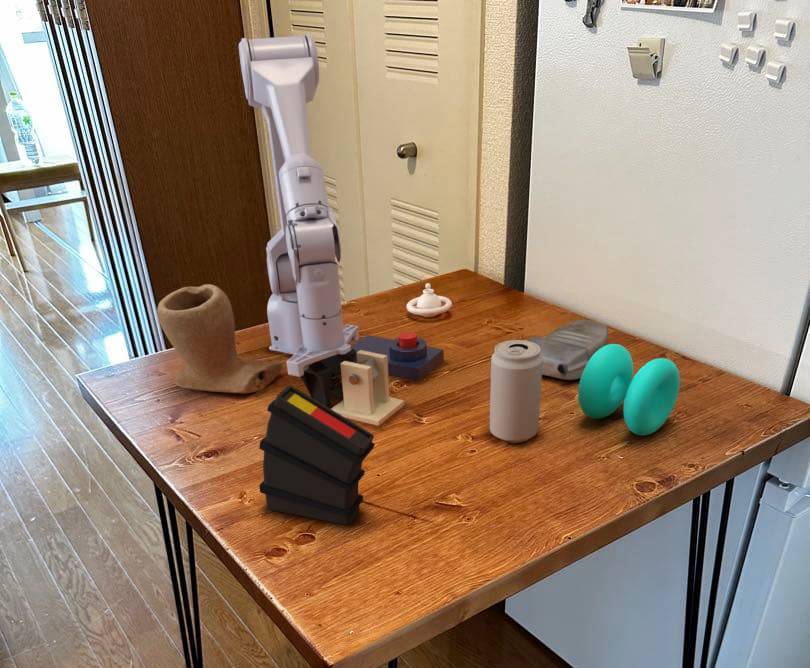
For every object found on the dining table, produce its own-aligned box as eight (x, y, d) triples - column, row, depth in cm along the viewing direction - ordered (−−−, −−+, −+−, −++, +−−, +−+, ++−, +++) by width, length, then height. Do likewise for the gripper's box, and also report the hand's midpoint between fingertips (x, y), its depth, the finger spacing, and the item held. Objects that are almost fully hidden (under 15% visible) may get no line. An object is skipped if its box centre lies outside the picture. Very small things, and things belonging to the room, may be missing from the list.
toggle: (319, 396, 114) (311, 378, 113) (331, 388, 116) (322, 371, 115) (371, 383, 108) (362, 363, 107) (382, 375, 110) (373, 356, 109)
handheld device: (626, 342, 129) (629, 314, 126) (572, 390, 116) (575, 360, 113) (571, 330, 134) (573, 303, 131) (513, 376, 121) (515, 347, 118)
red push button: (395, 347, 122) (394, 336, 121) (404, 341, 124) (404, 330, 123) (411, 351, 121) (411, 339, 119) (420, 344, 122) (420, 333, 121)
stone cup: (158, 398, 119) (134, 299, 110) (201, 365, 128) (182, 271, 119) (248, 411, 115) (230, 308, 106) (286, 376, 123) (272, 279, 115)
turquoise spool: (613, 399, 113) (621, 331, 107) (677, 422, 107) (689, 351, 101) (570, 425, 107) (577, 355, 101) (635, 450, 101) (646, 377, 96)
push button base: (341, 366, 126) (338, 342, 123) (368, 348, 131) (366, 324, 129) (418, 383, 120) (417, 358, 117) (443, 363, 125) (443, 338, 123)
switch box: (330, 415, 112) (324, 363, 108) (357, 395, 117) (353, 345, 113) (378, 427, 109) (375, 374, 104) (404, 406, 114) (402, 354, 109)
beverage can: (542, 425, 108) (548, 340, 101) (532, 448, 103) (537, 360, 96) (495, 419, 109) (498, 335, 102) (484, 442, 105) (485, 355, 98)
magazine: (254, 478, 96) (288, 381, 86) (348, 535, 96) (393, 444, 86) (238, 495, 94) (271, 396, 84) (334, 553, 93) (379, 461, 83)
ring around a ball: (443, 325, 138) (458, 308, 144) (442, 292, 134) (457, 277, 140) (400, 322, 140) (416, 306, 146) (398, 289, 137) (414, 275, 143)
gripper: (313, 335, 101) (324, 430, 109) (374, 298, 111) (380, 389, 119) (269, 326, 104) (282, 420, 112) (332, 292, 114) (340, 380, 122)
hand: (330, 403), depth 116 cm, fingers open, 3 cm apart
